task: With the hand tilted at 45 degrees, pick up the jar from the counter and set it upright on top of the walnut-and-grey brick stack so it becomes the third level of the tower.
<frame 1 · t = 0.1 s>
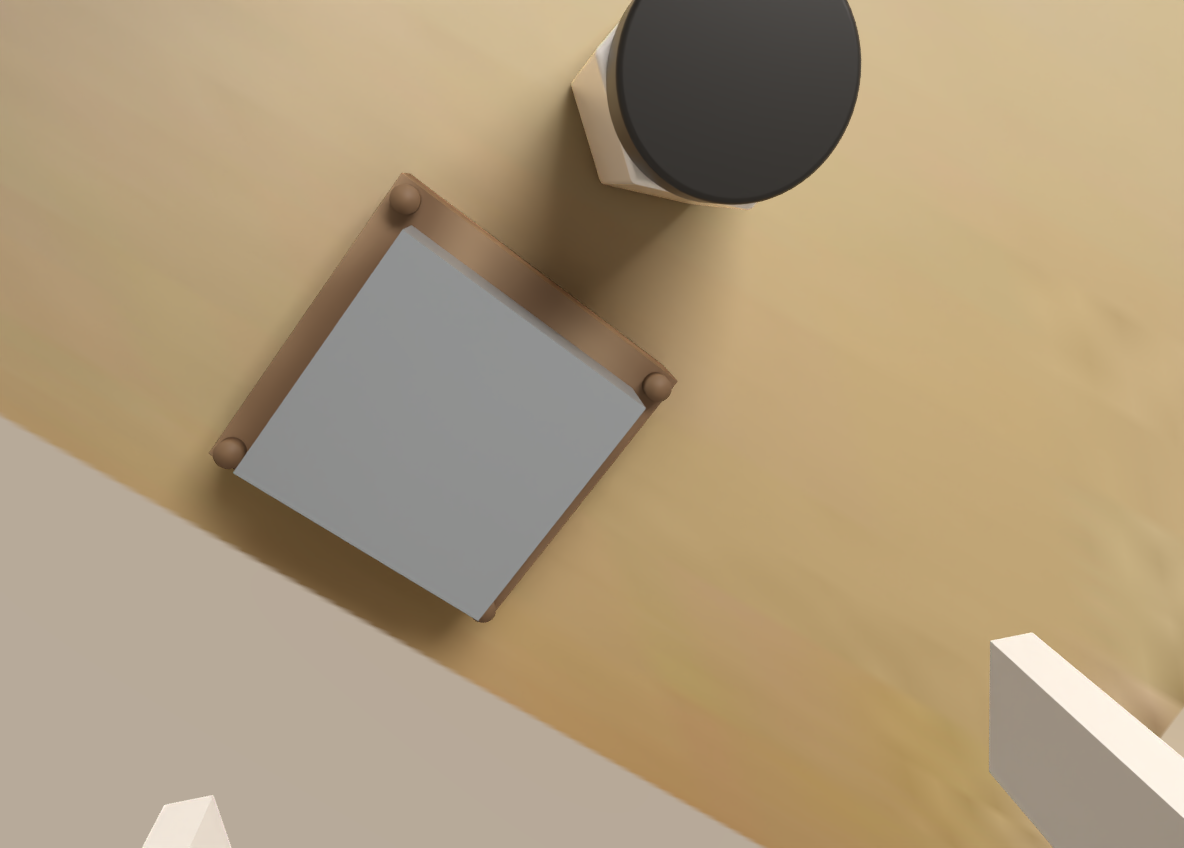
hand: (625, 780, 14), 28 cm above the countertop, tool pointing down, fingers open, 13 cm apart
jar: (664, 107, 37), on the countertop
walnut base brick: (451, 397, 40), on the countertop
grey top brick: (447, 416, 37), resting on walnut base brick
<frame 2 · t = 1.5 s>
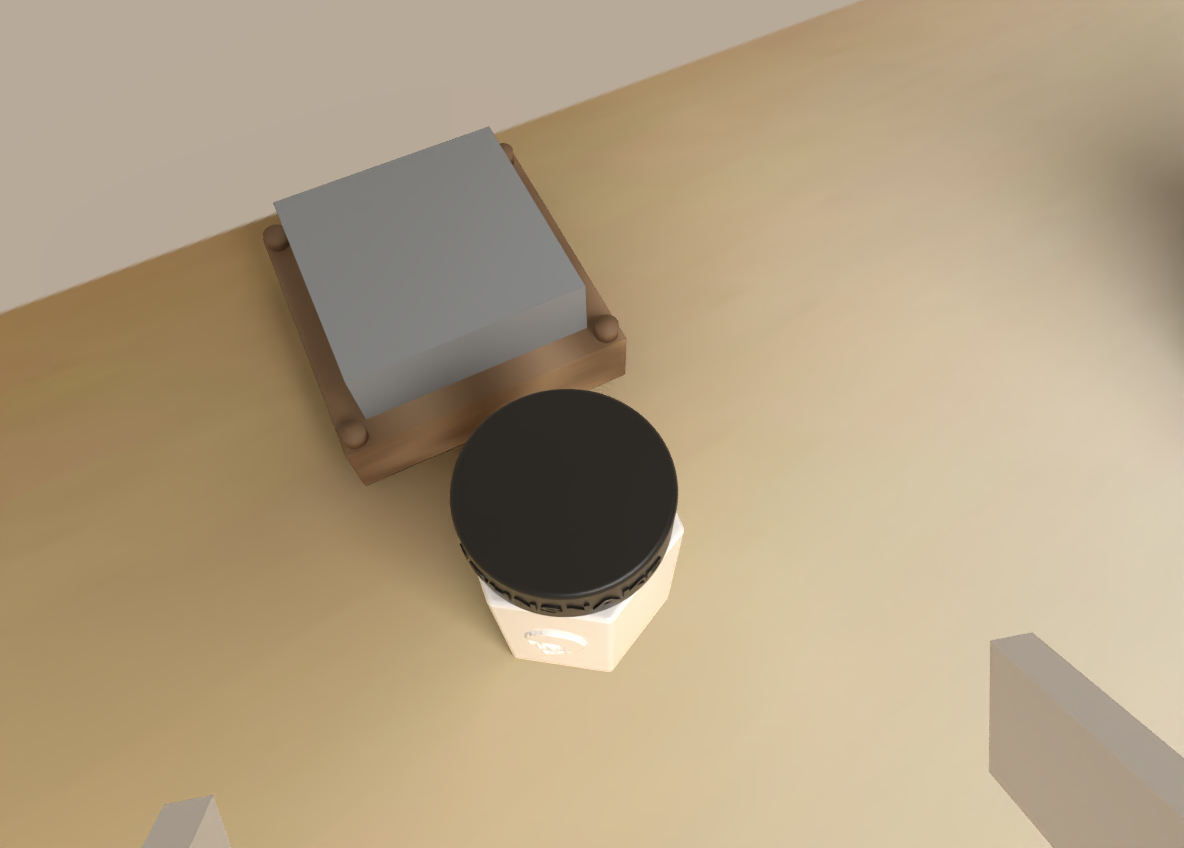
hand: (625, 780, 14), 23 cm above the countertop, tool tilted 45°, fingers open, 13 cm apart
jar: (576, 585, 39), on the countertop
walnut base brick: (448, 323, 46), on the countertop
grey top brick: (437, 286, 43), resting on walnut base brick
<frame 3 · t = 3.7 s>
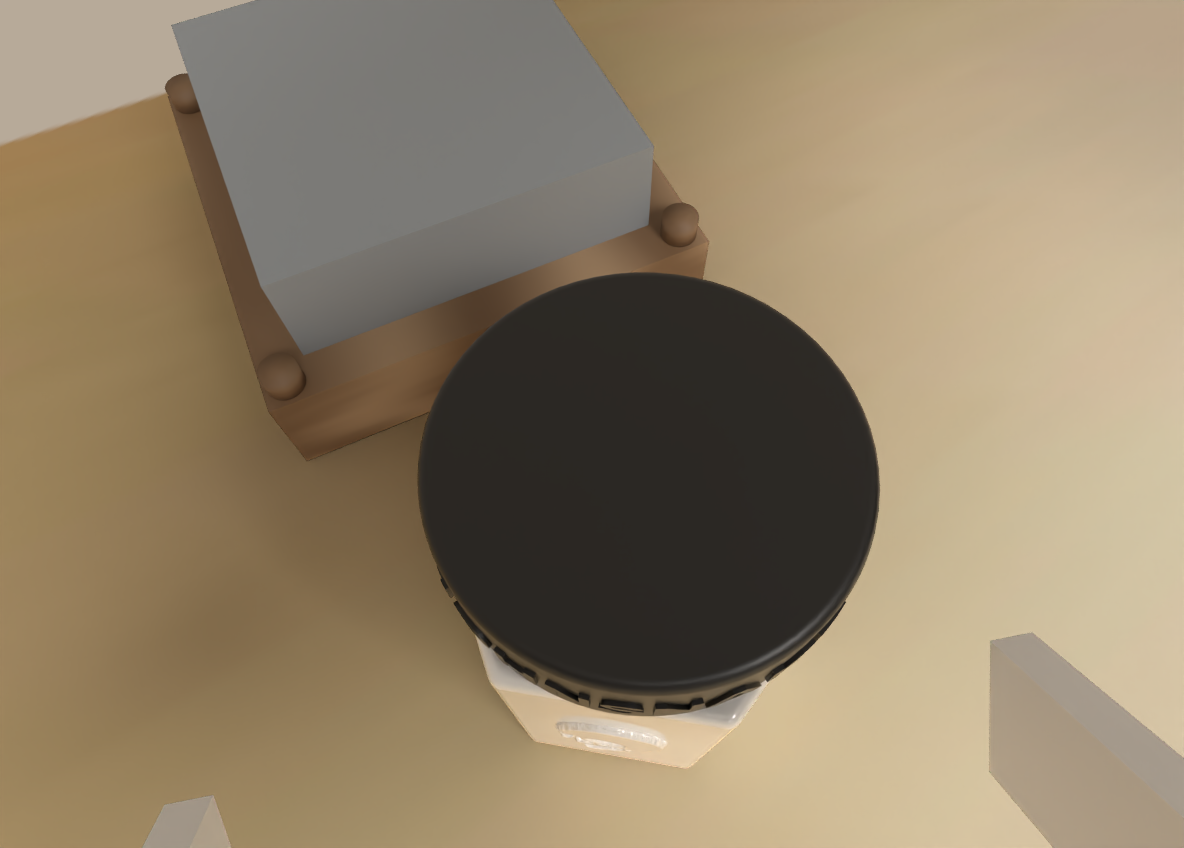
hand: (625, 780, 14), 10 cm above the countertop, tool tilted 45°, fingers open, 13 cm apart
jar: (629, 621, 25), on the countertop
walnut base brick: (439, 230, 32), on the countertop
grey top brick: (421, 164, 29), resting on walnut base brick
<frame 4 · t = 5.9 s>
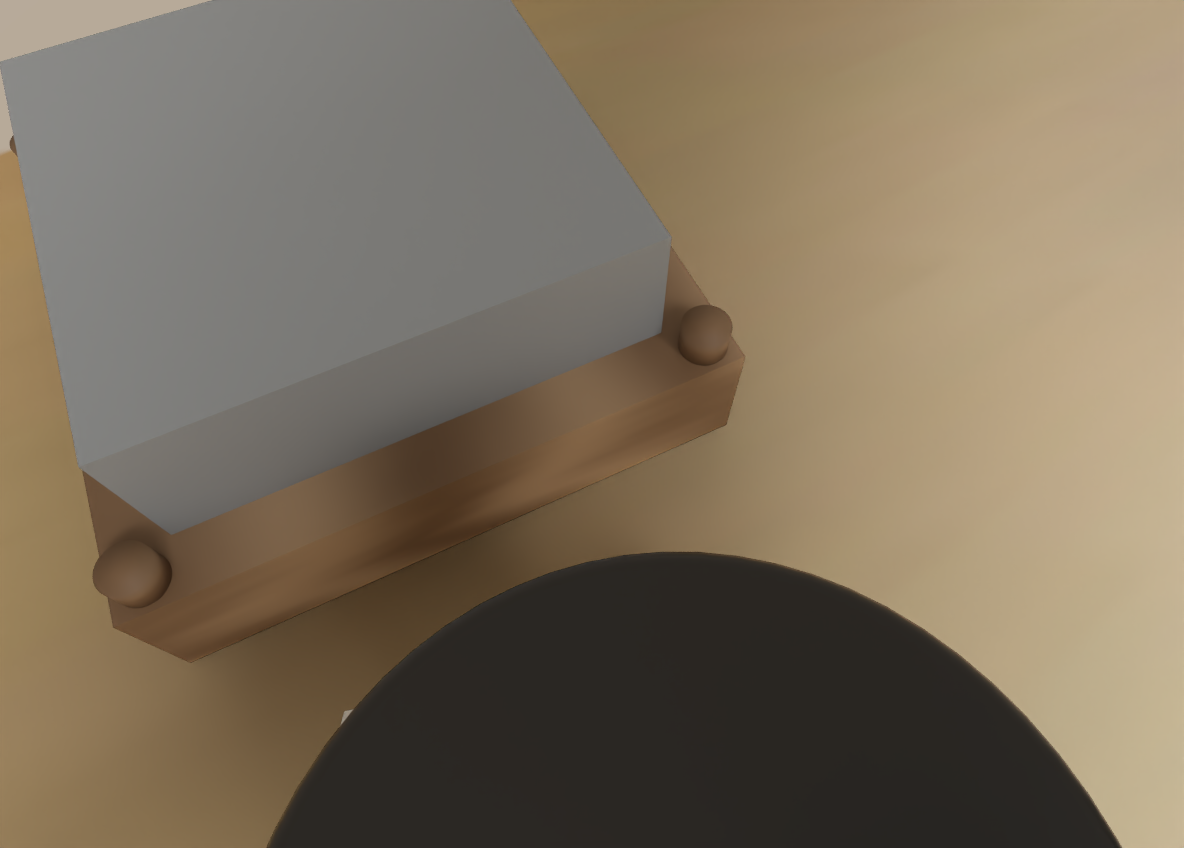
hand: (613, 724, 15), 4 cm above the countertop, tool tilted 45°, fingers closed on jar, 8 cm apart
walnut base brick: (384, 322, 24), on the countertop
grey top brick: (352, 245, 21), resting on walnut base brick
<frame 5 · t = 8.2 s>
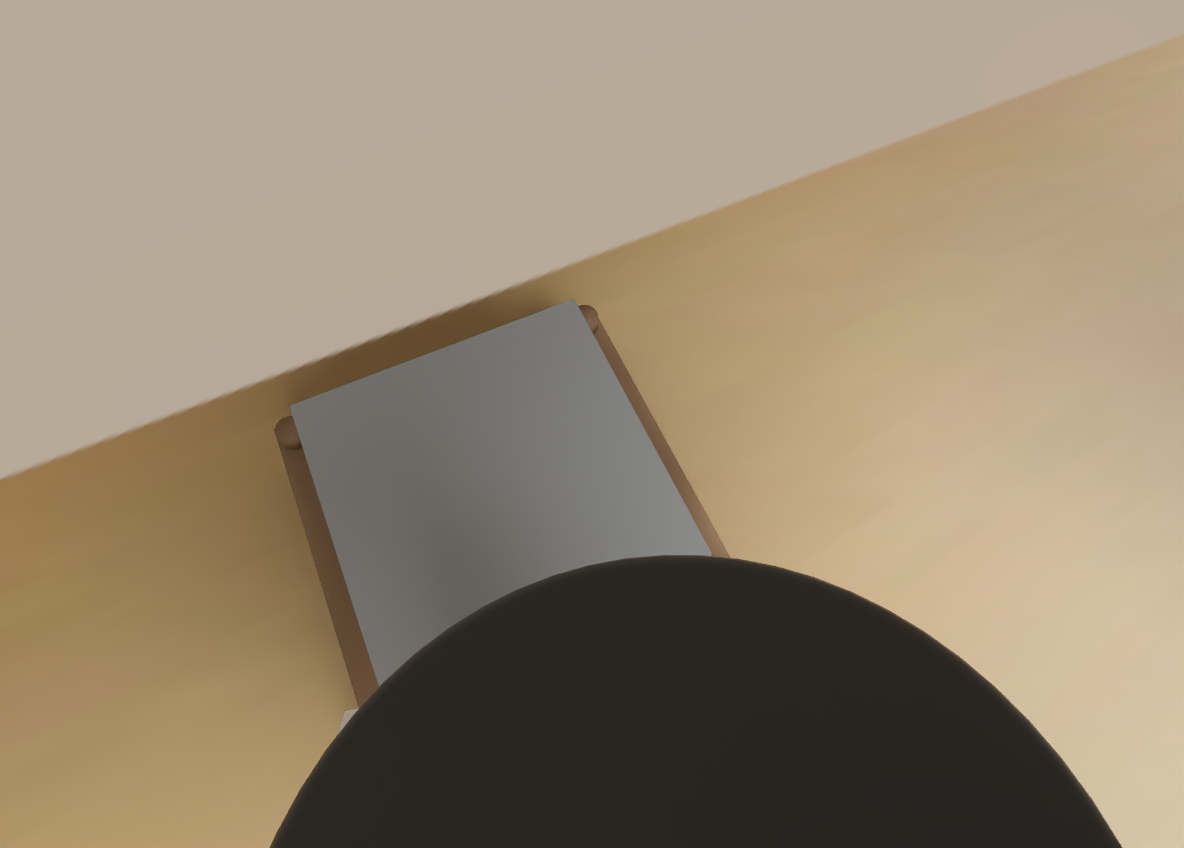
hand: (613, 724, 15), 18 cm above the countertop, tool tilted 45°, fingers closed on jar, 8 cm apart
walnut base brick: (509, 538, 36), on the countertop
grey top brick: (500, 510, 33), resting on walnut base brick
when the fingers open (12 cm above the countertop, at t = 10.5 s): jar drops 1 cm, resting on grey top brick.
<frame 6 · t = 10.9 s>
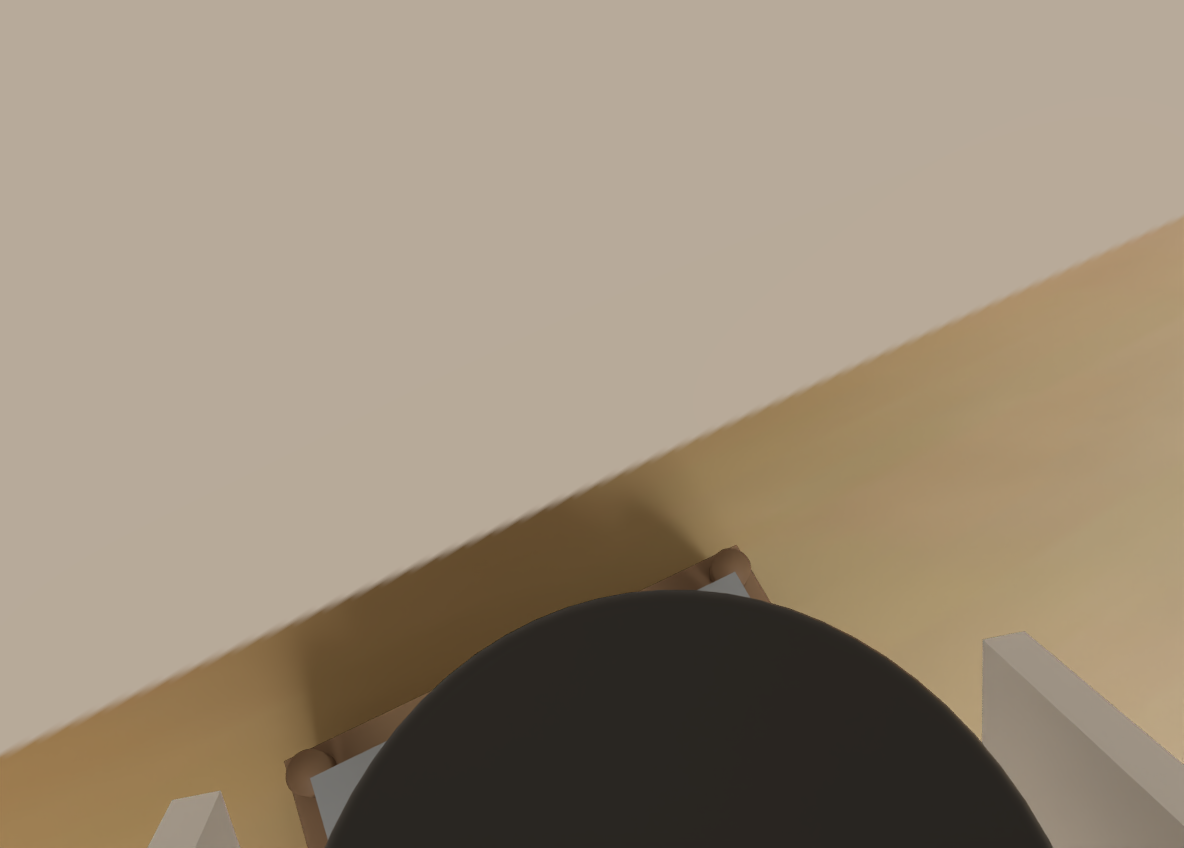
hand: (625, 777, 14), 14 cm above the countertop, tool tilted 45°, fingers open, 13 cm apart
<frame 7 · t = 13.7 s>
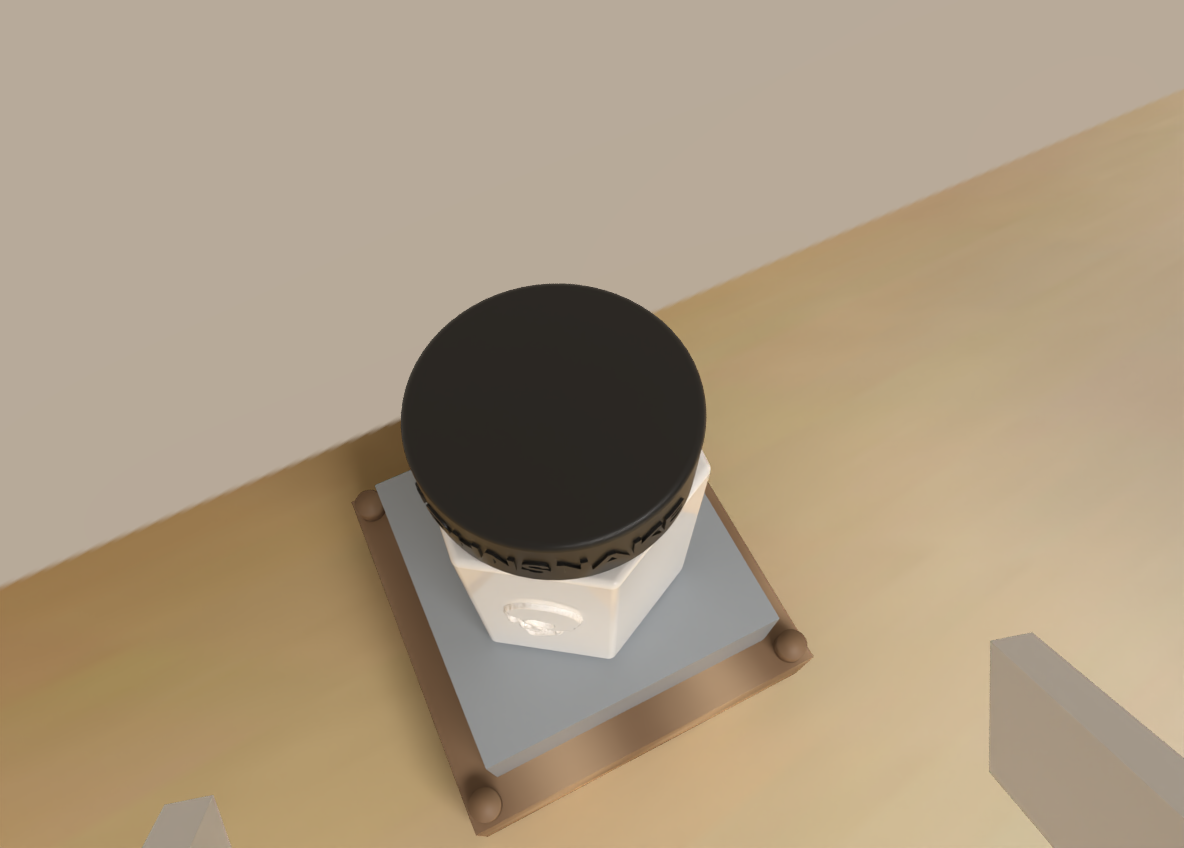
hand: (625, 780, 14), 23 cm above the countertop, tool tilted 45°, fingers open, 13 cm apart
jar: (569, 553, 32), point 7 cm above the countertop, touching grey top brick
walnut base brick: (573, 597, 38), on the countertop
grey top brick: (571, 575, 35), resting on walnut base brick
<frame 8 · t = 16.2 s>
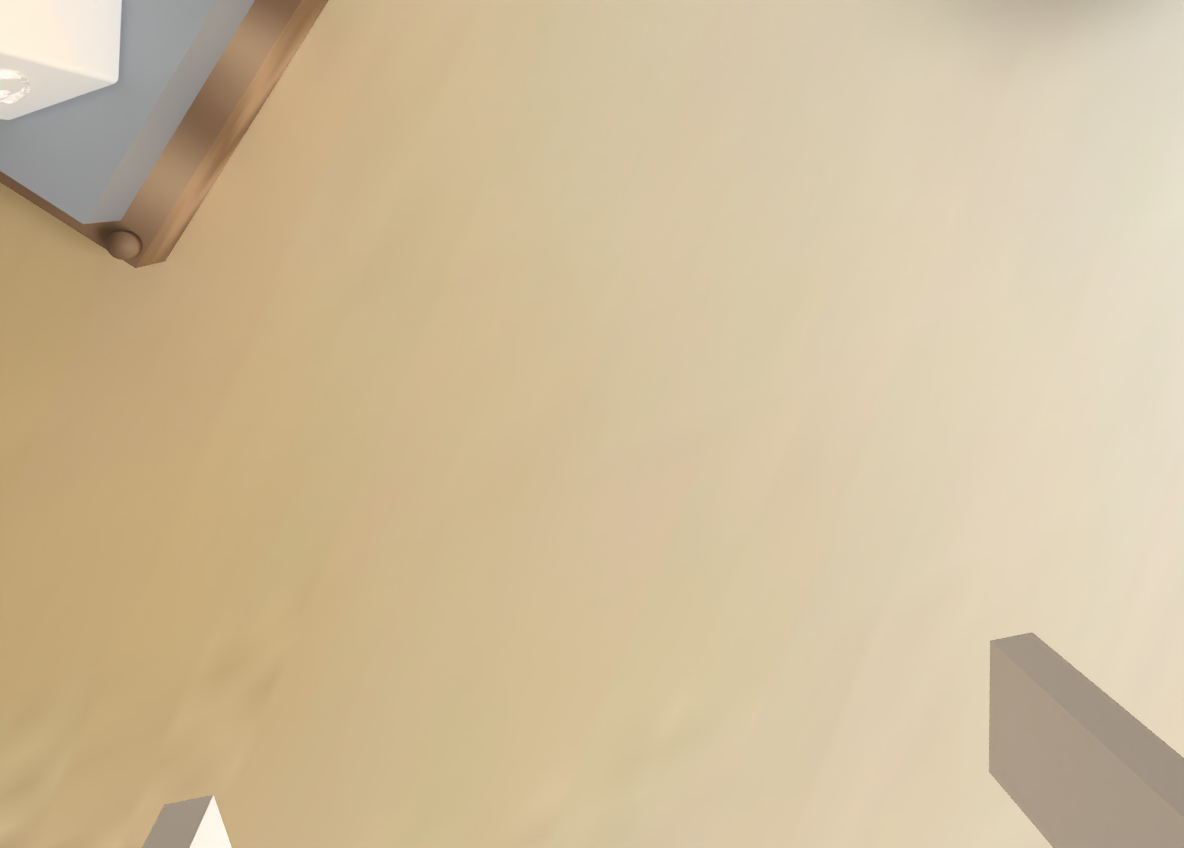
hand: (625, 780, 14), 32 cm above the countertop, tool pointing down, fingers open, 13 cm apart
walnut base brick: (95, 26, 37), on the countertop
grey top brick: (56, 11, 34), resting on walnut base brick
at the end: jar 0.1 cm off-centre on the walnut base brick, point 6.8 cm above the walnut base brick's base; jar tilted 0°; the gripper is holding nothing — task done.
